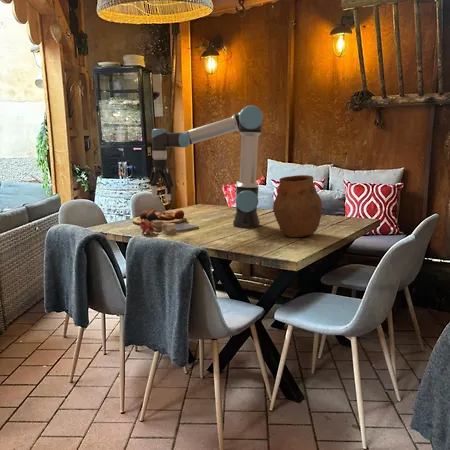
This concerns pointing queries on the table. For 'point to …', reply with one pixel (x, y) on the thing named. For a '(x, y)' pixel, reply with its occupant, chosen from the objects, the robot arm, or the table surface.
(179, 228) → the slate mat
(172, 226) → the beech block
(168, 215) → the wooden plate with food
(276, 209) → the pot
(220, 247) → the table surface
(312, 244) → the table surface
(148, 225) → the flower
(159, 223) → the walnut block
